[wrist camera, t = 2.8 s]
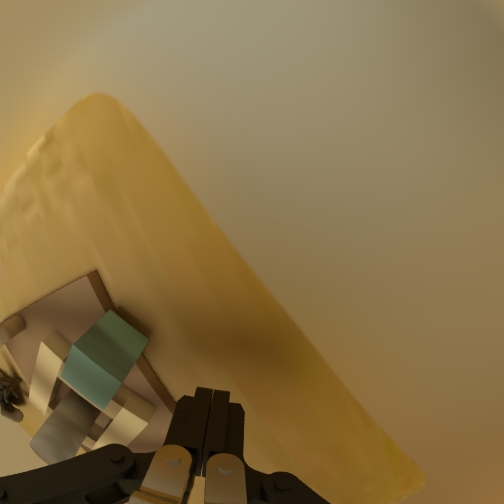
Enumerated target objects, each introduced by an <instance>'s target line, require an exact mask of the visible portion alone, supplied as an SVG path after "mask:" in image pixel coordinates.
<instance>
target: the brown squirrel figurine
mask: <svg viewBox="0 0 504 504" xmlns="http://www.w3.org/2000/svg"><path fill="white" fill-rule="evenodd" d="M21 381H22V379H21V378H20V379H17V378H16V379H15V378H6V379H4V378H1V374H0V407H1V414H2V415H3V416H4V417H6V418H7V419H10V420H12V421H14V422H20V421H22V420H23V417H24V416H23V413H22V412H21V411H20V410H19V409H17V408H15V407H14V406H13V405H12V404H11V396H12V394H13V395H14V396H15V397H17V398H18V394H17V393H16V392H15V390H14V387H15V386H16V385H17V384H18V383H20V382H21Z"/></svg>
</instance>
